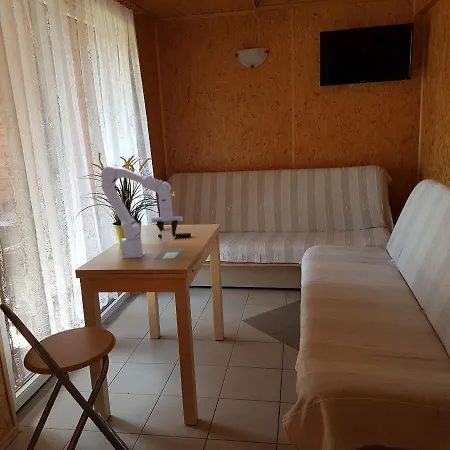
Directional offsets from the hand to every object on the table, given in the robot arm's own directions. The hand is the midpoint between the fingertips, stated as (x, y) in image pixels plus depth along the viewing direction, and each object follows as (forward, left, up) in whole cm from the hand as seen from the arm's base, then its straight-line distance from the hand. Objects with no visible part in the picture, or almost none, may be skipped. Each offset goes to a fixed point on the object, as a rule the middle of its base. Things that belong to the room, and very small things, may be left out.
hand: (168, 236), depth 209 cm
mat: (0, -1, -8) cm, 8 cm away
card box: (0, 0, -1) cm, 1 cm away
